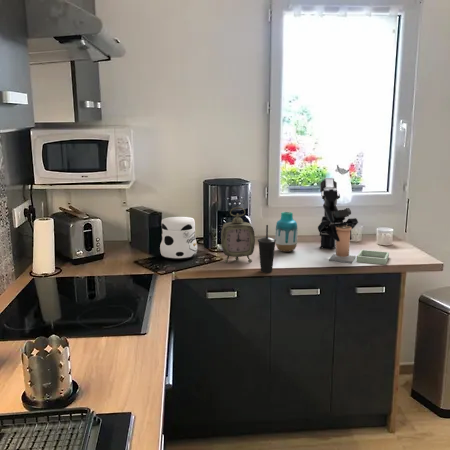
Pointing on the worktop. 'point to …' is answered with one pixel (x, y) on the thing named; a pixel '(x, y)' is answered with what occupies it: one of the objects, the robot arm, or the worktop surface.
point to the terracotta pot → (343, 240)
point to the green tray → (373, 259)
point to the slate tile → (342, 258)
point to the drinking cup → (266, 252)
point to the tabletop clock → (237, 238)
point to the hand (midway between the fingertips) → (344, 240)
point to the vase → (286, 232)
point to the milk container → (178, 238)
